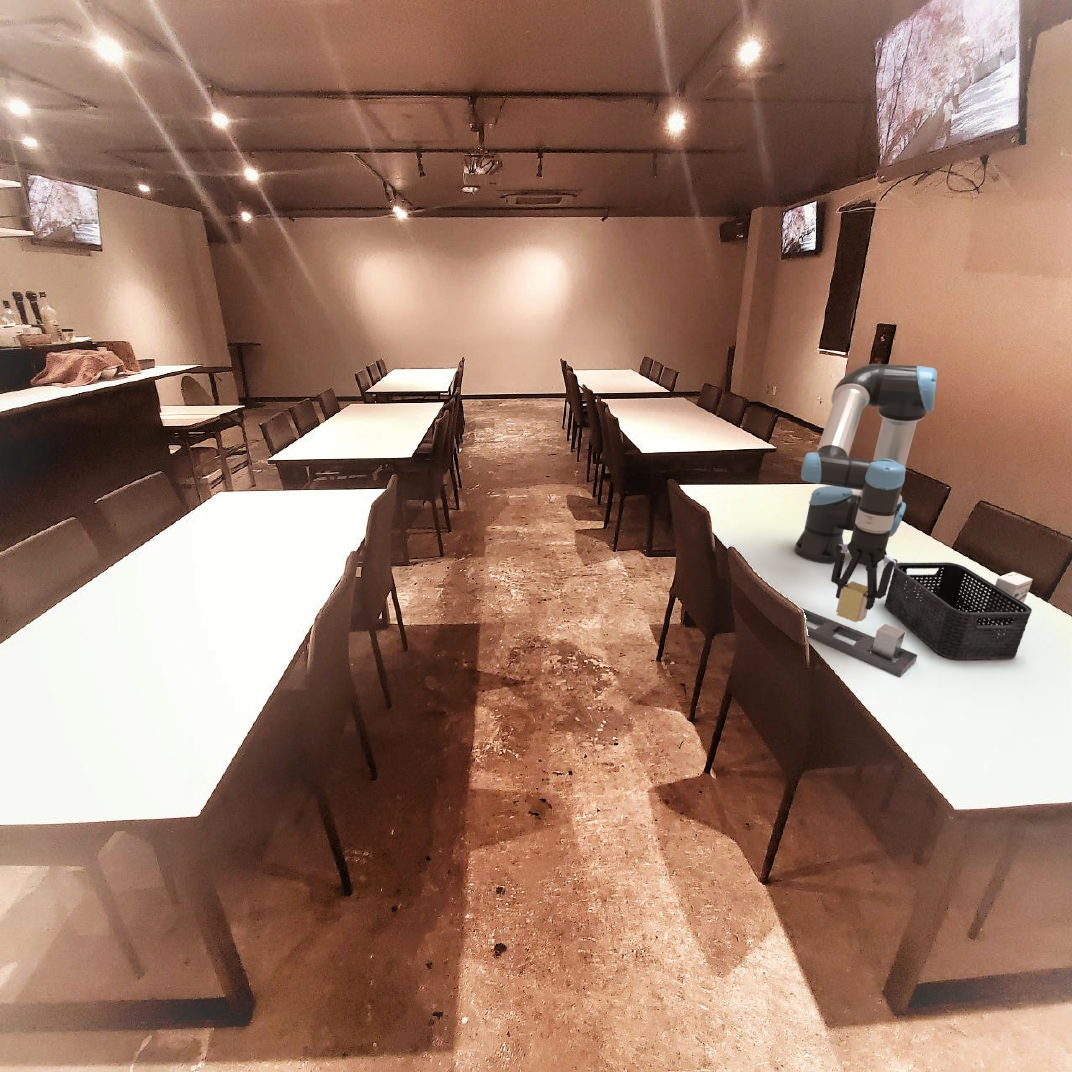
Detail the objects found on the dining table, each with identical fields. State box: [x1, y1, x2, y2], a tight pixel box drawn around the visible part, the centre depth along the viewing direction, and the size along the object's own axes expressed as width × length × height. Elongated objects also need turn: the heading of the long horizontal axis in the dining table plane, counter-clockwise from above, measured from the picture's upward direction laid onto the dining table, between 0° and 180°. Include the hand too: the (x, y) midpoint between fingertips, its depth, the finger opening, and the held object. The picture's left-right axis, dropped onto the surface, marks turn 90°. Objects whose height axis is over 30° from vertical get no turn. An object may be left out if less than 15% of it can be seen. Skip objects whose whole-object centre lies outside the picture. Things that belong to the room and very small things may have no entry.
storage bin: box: [883, 561, 1033, 660], centre depth 153 cm, size 29×19×13 cm
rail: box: [801, 607, 918, 678], centre depth 149 cm, size 30×9×2 cm, turn 40°
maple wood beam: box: [836, 581, 868, 623], centre depth 145 cm, size 5×5×8 cm
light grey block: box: [870, 623, 906, 663], centre depth 142 cm, size 5×5×8 cm
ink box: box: [987, 571, 1034, 622], centre depth 160 cm, size 9×5×12 cm, turn 117°
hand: (850, 614), depth 146 cm, fingers closed on maple wood beam, 5 cm apart
